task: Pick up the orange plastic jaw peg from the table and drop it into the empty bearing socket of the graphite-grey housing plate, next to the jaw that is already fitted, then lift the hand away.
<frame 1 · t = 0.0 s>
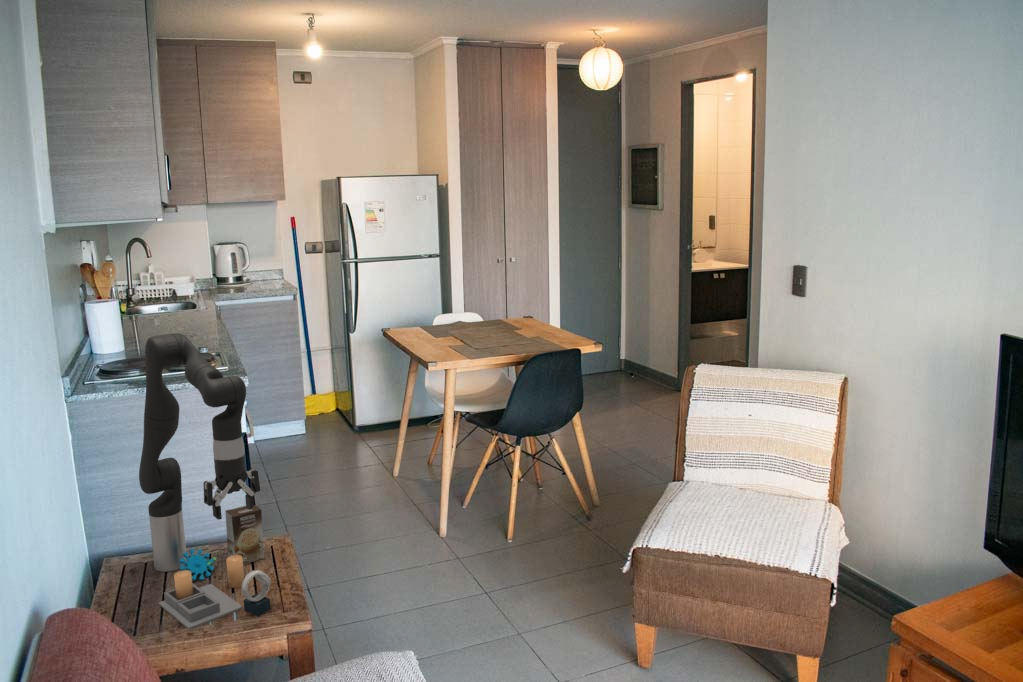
hand: (234, 513, 217), 29 cm above the table, fingers open, 8 cm apart
coffee box: (246, 559, 257), on the table
watch: (257, 610, 226), on the table
blue knobbed wheel: (199, 576, 246), on the table
housing: (200, 606, 228), on the table
jaw peg: (236, 584, 241), on the table
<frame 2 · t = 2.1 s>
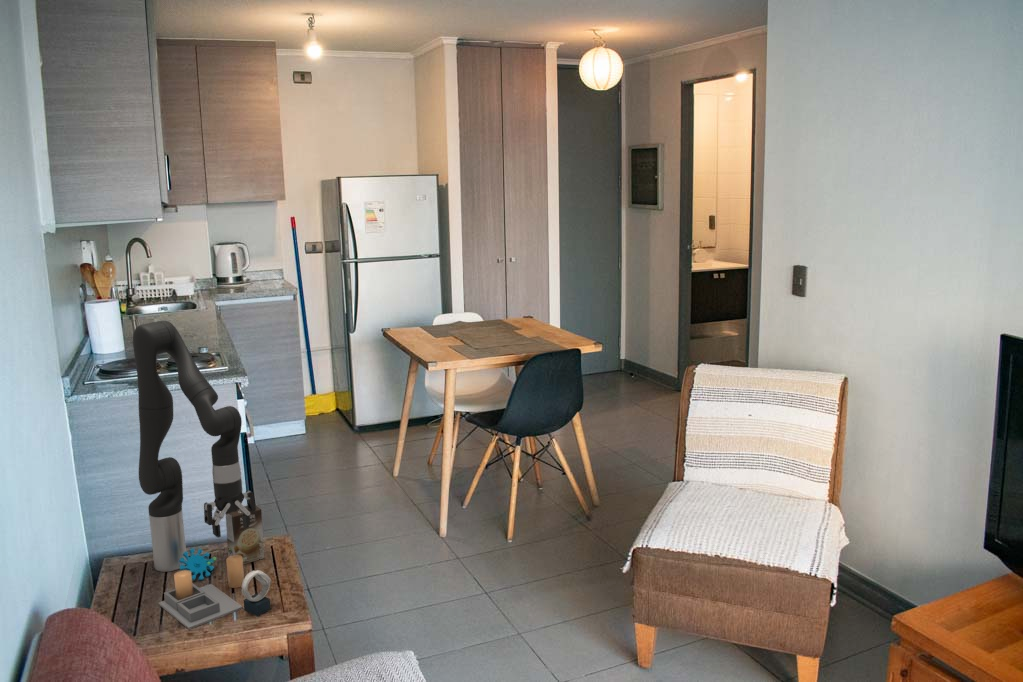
hand: (232, 532, 238), 16 cm above the table, fingers open, 8 cm apart
nothing on the table moved.
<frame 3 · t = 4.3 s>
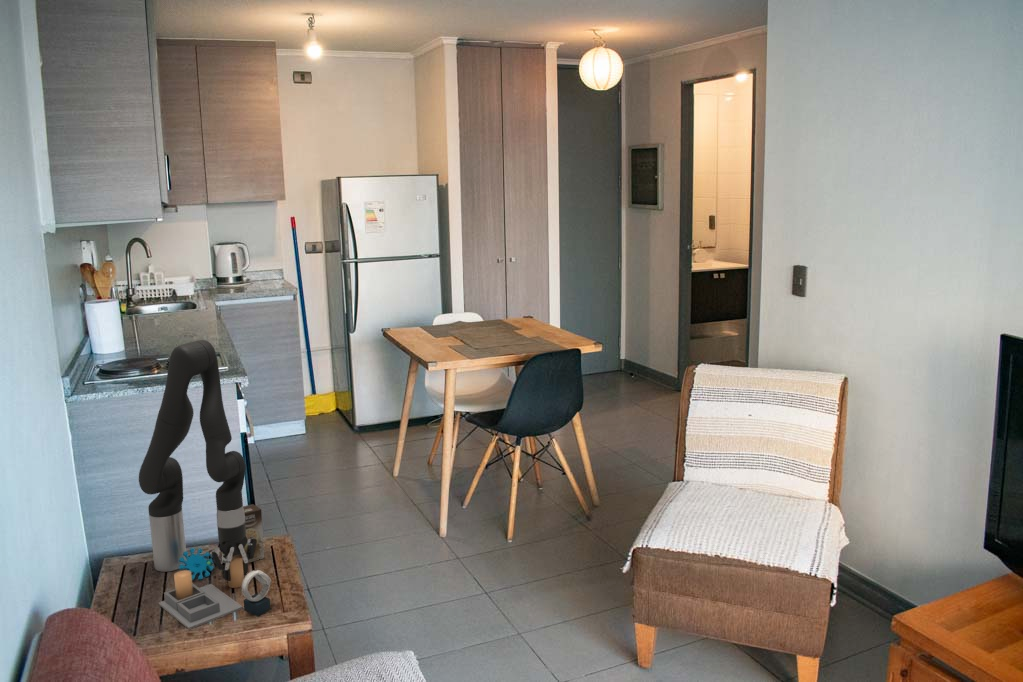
hand: (235, 577, 240), 2 cm above the table, fingers closed on jaw peg, 4 cm apart
jaw peg: (236, 584, 241), on the table, touching gripper
everything else where it was.
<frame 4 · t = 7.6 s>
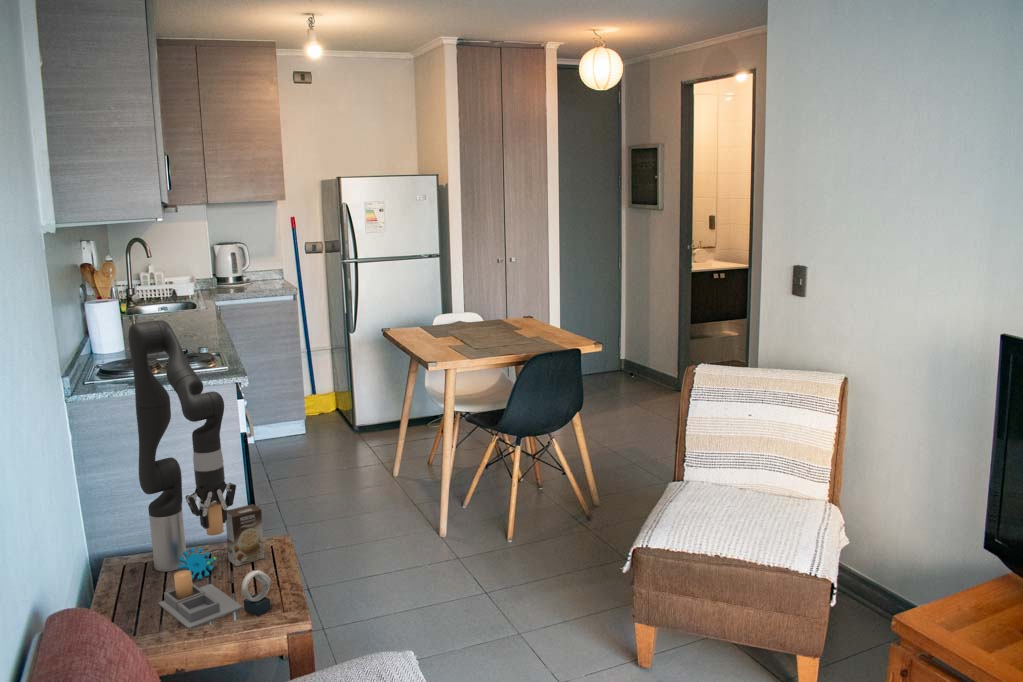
hand: (214, 524, 229), 22 cm above the table, fingers closed on jaw peg, 4 cm apart
jaw peg: (215, 532, 229), point 19 cm above the table, touching gripper
everything else where it was.
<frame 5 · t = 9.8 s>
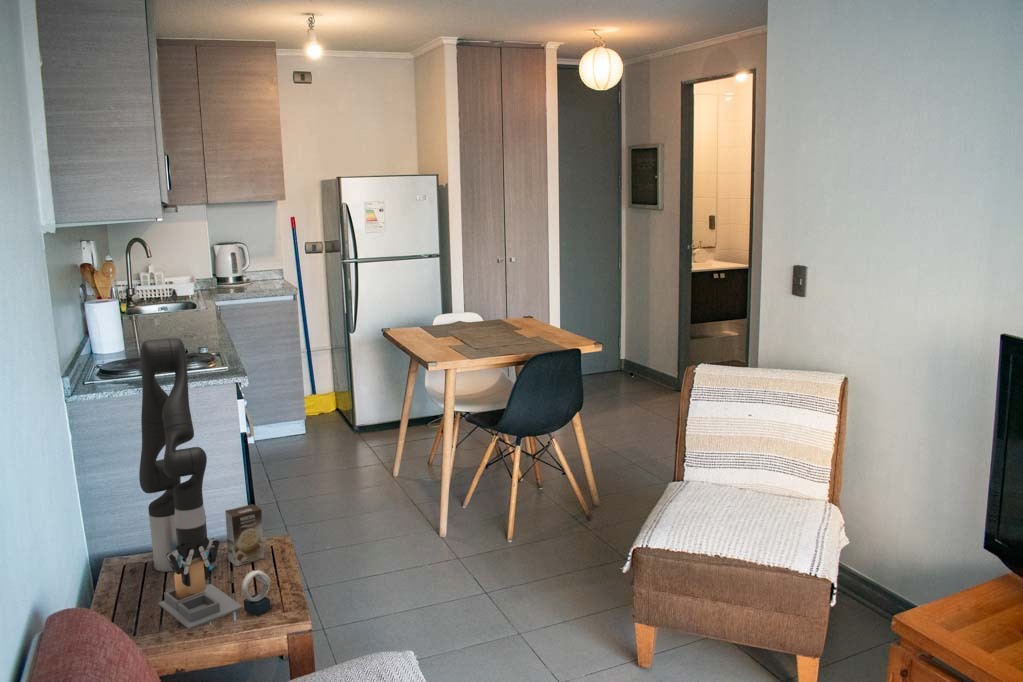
hand: (196, 582, 223), 9 cm above the table, fingers closed on jaw peg, 4 cm apart
jaw peg: (197, 589, 223), point 7 cm above the table, touching gripper
everything else where it was.
when the fingers open (4 cm above the table, at t = 11.2 s): jaw peg drops 1 cm, resting on housing.
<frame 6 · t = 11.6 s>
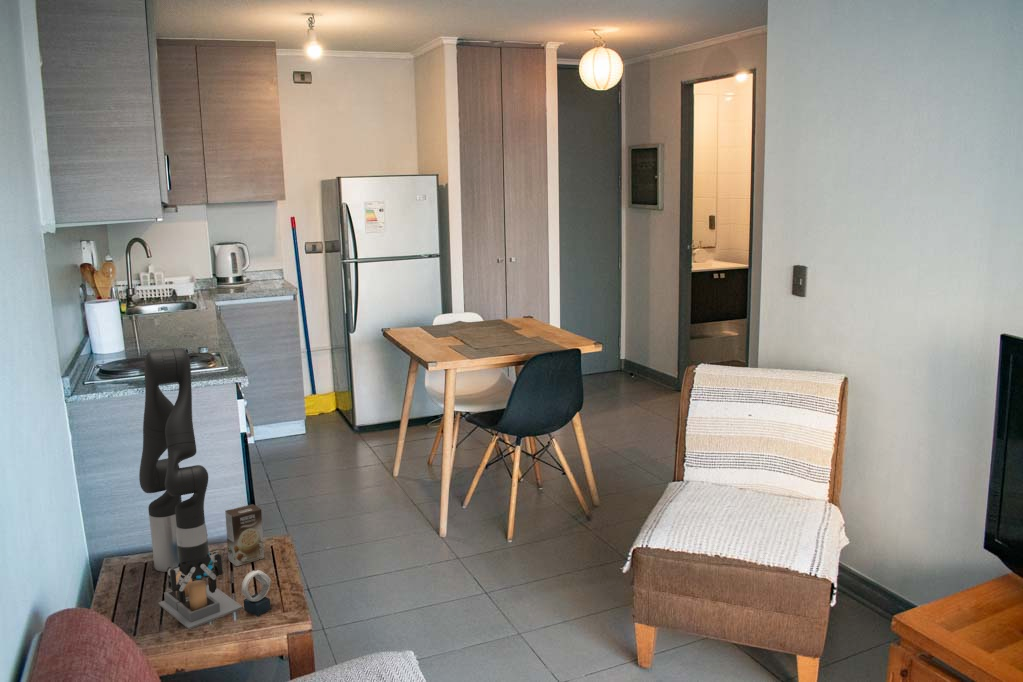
hand: (197, 597, 224), 5 cm above the table, fingers open, 7 cm apart
jaw peg: (199, 611, 224), point 1 cm above the table, touching housing
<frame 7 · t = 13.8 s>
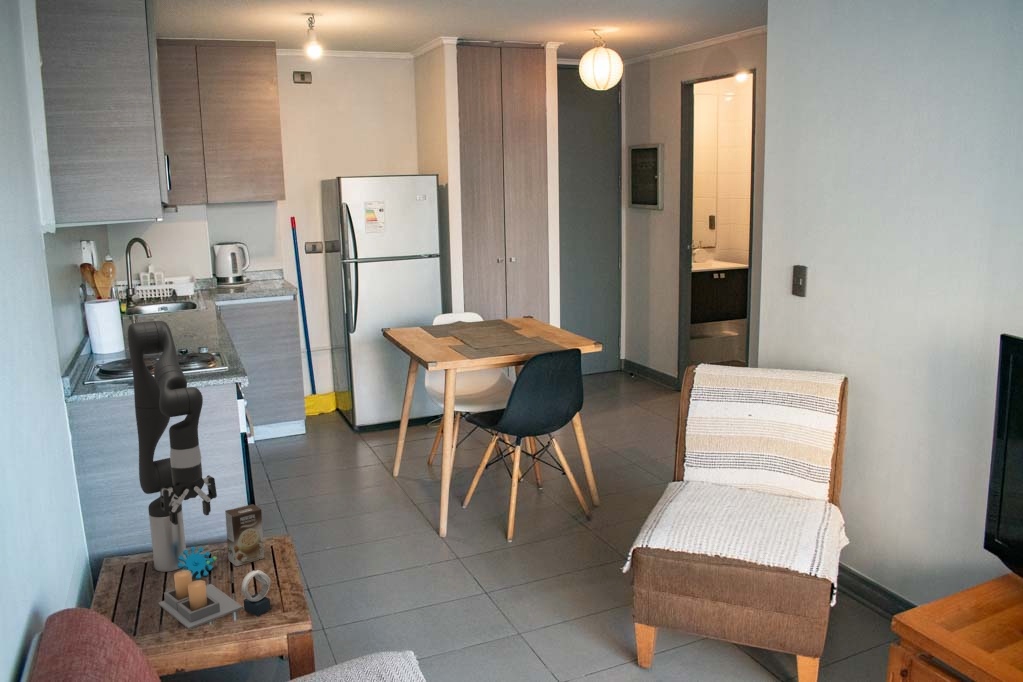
hand: (190, 519, 224), 25 cm above the table, fingers open, 8 cm apart
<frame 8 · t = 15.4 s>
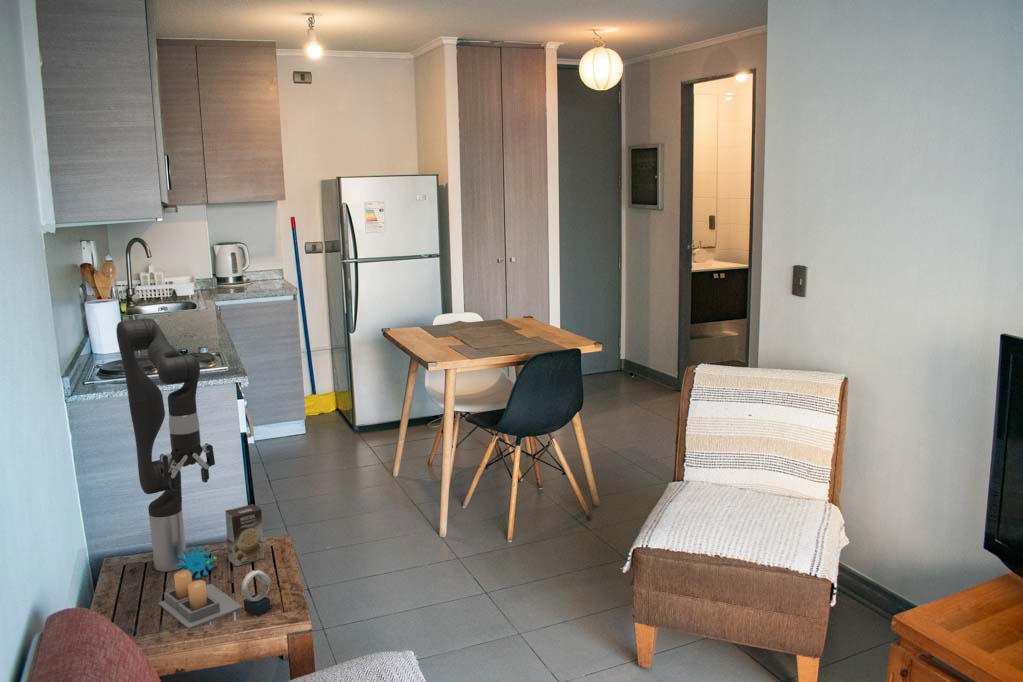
hand: (189, 485, 229), 32 cm above the table, fingers open, 8 cm apart
at the end: jaw peg 0.1 cm from the target spot on the housing, point 0.6 cm above the housing's base; jaw peg tilted 0°; the gripper is holding nothing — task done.
